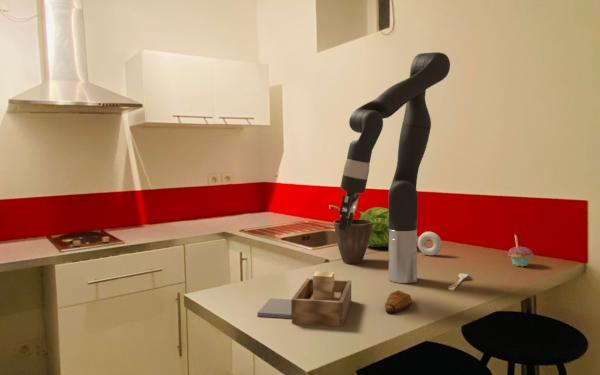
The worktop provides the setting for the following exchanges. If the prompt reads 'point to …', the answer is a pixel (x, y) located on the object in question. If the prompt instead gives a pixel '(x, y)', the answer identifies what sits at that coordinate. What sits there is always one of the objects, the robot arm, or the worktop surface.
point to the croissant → (397, 301)
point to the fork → (460, 279)
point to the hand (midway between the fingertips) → (344, 227)
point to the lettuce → (378, 226)
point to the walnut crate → (321, 305)
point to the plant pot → (353, 240)
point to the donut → (434, 238)
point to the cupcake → (520, 254)
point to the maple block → (323, 286)
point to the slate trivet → (276, 308)
